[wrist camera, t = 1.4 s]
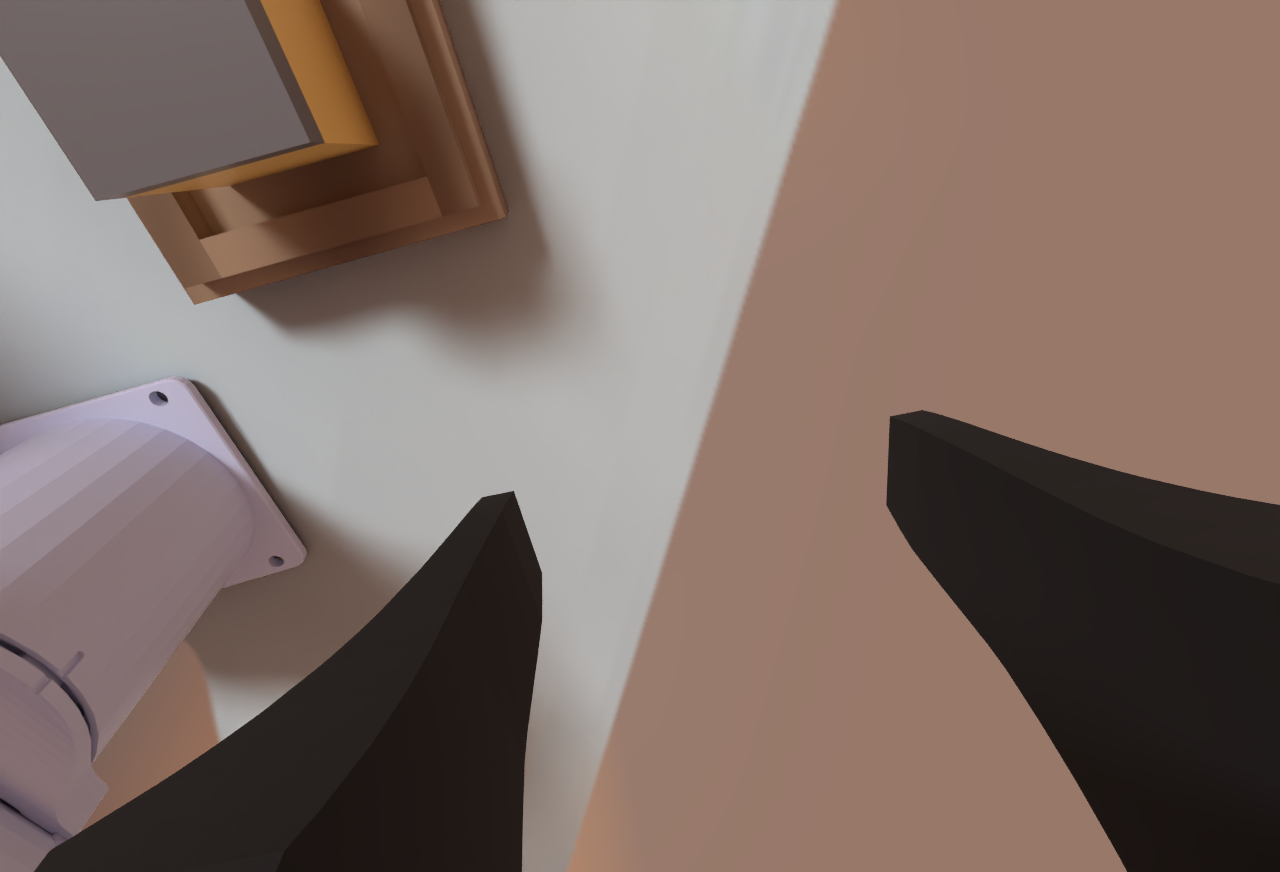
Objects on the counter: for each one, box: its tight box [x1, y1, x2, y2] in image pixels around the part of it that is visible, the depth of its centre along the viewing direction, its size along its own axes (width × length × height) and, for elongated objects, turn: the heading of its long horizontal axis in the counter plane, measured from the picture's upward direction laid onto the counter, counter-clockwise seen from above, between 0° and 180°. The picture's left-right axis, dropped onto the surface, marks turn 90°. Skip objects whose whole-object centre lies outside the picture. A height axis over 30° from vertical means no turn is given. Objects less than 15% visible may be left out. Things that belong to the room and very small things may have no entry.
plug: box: [0, 0, 379, 201], centre depth 12 cm, size 4×4×5 cm
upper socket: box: [127, 0, 509, 305], centre depth 14 cm, size 9×9×3 cm
